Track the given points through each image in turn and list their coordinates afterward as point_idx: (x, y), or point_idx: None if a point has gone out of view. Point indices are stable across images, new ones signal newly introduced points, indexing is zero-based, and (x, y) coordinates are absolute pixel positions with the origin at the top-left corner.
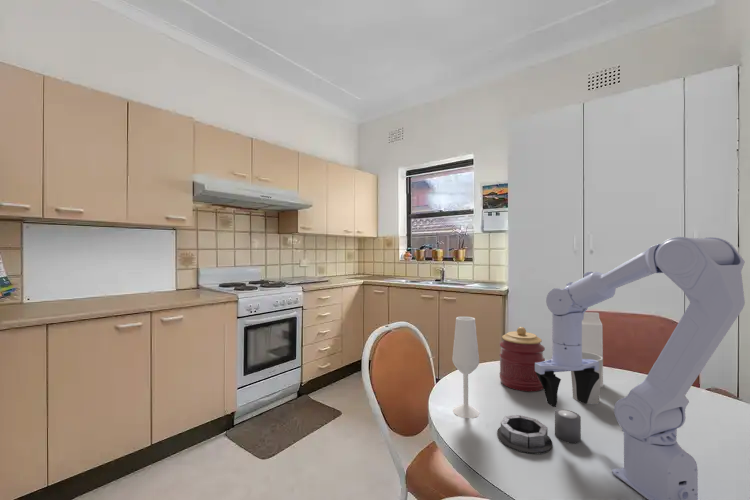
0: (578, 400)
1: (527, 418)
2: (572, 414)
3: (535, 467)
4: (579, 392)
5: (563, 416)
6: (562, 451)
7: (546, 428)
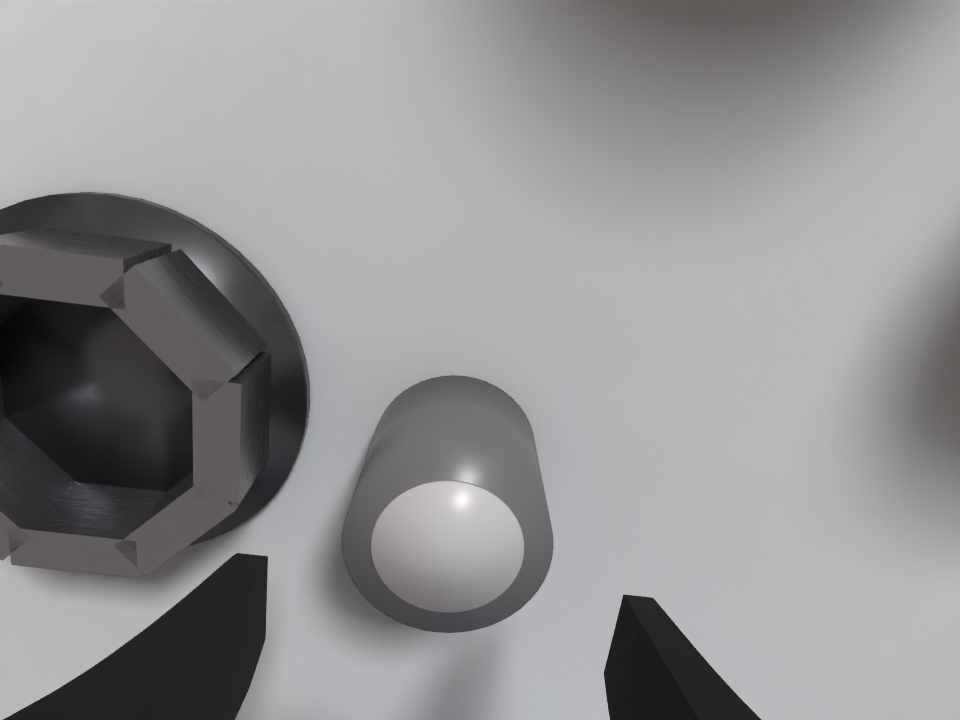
0: (620, 610)
1: (167, 341)
2: (487, 566)
3: (28, 617)
4: (650, 692)
5: (375, 570)
6: (289, 556)
7: (220, 515)
